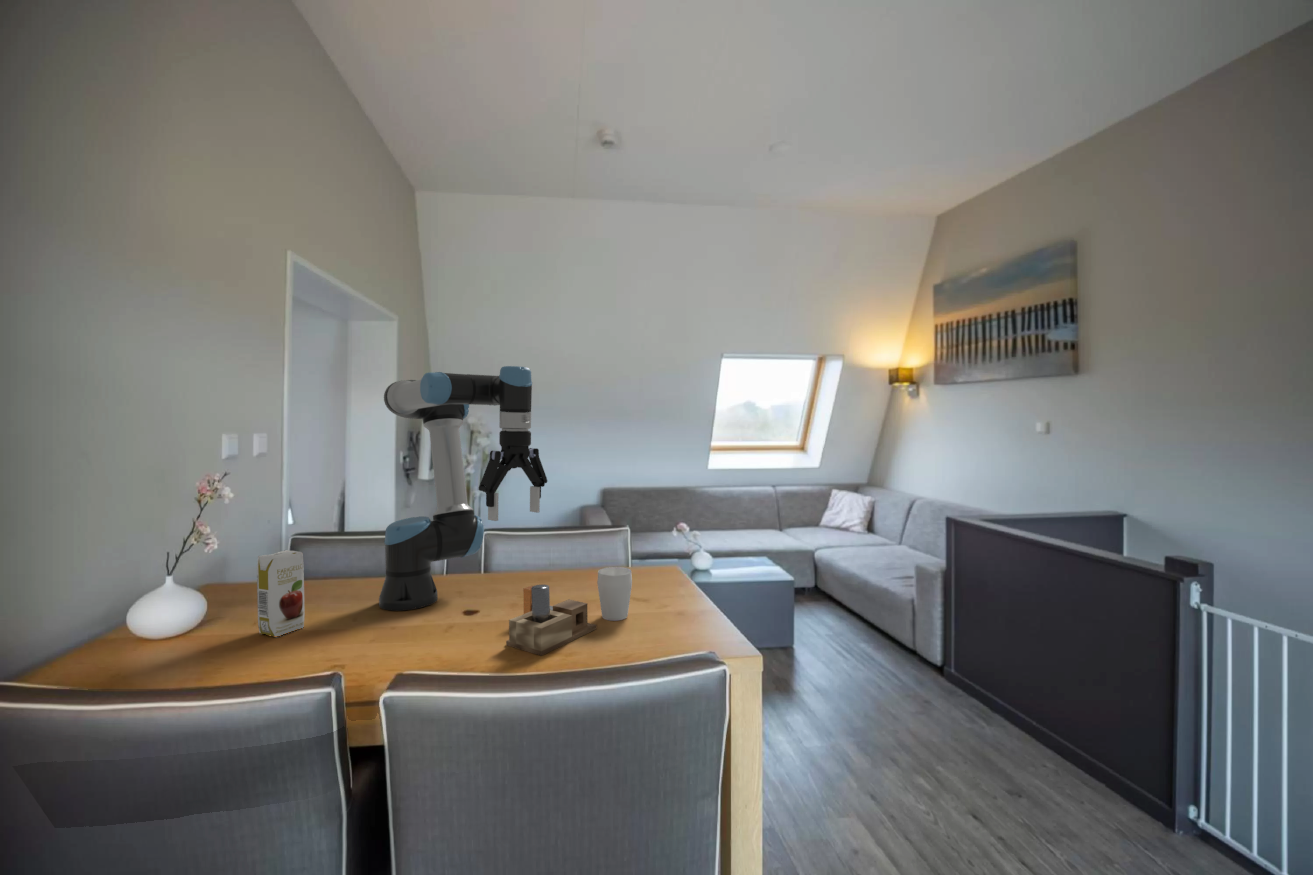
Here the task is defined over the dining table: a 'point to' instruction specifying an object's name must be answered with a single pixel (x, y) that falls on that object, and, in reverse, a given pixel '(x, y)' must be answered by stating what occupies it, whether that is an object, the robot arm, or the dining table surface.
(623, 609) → the cup
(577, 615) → the dock
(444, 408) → the robot arm
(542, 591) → the dark grey cylinder
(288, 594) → the juice carton
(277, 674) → the dining table surface
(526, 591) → the pin
